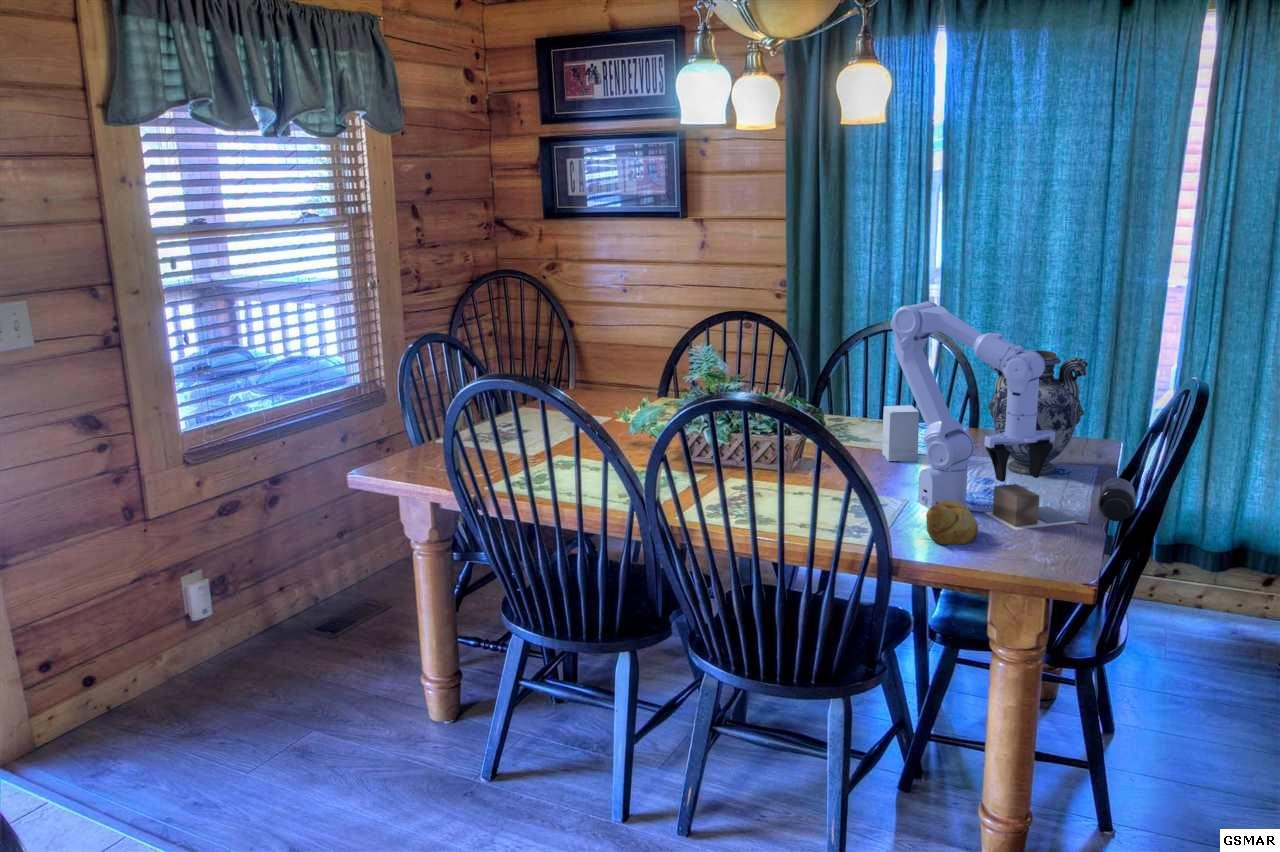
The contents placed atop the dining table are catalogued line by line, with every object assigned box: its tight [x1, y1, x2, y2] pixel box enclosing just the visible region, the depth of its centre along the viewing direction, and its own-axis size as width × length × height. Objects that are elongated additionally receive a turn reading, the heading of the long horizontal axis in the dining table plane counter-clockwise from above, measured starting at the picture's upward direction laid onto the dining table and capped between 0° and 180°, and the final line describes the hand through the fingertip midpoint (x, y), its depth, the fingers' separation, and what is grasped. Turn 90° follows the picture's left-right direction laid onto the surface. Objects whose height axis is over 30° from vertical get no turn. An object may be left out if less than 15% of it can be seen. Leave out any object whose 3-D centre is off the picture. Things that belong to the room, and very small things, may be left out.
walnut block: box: [992, 483, 1040, 527], centre depth 208 cm, size 5×8×6 cm, turn 14°
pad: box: [1038, 505, 1075, 524], centre depth 211 cm, size 6×9×1 cm
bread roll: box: [925, 501, 979, 546], centre depth 201 cm, size 13×10×8 cm
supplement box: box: [881, 404, 920, 462], centre depth 255 cm, size 7×7×13 cm
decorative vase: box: [987, 349, 1089, 476], centre depth 240 cm, size 21×19×28 cm
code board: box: [984, 505, 1077, 531], centre depth 210 cm, size 14×11×1 cm
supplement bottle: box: [1097, 477, 1136, 522], centre depth 209 cm, size 7×7×12 cm
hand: (1017, 478), depth 207 cm, fingers open, 7 cm apart
